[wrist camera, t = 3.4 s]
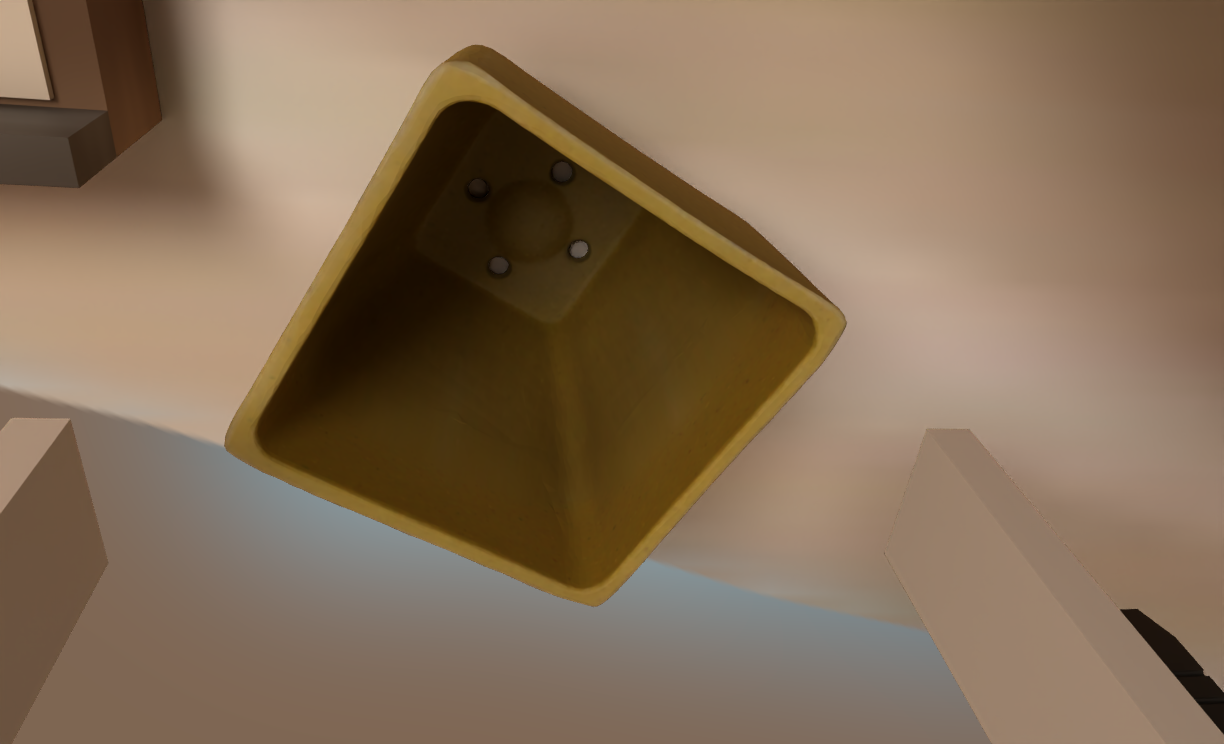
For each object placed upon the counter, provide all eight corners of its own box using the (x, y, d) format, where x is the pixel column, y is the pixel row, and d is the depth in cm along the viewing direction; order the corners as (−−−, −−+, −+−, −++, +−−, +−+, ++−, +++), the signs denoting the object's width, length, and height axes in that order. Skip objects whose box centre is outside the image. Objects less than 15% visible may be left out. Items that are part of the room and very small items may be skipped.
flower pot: (302, 260, 24) (209, 458, 16) (464, -28, 20) (445, 49, 13) (568, 398, 27) (597, 617, 19) (744, 170, 24) (862, 324, 16)
